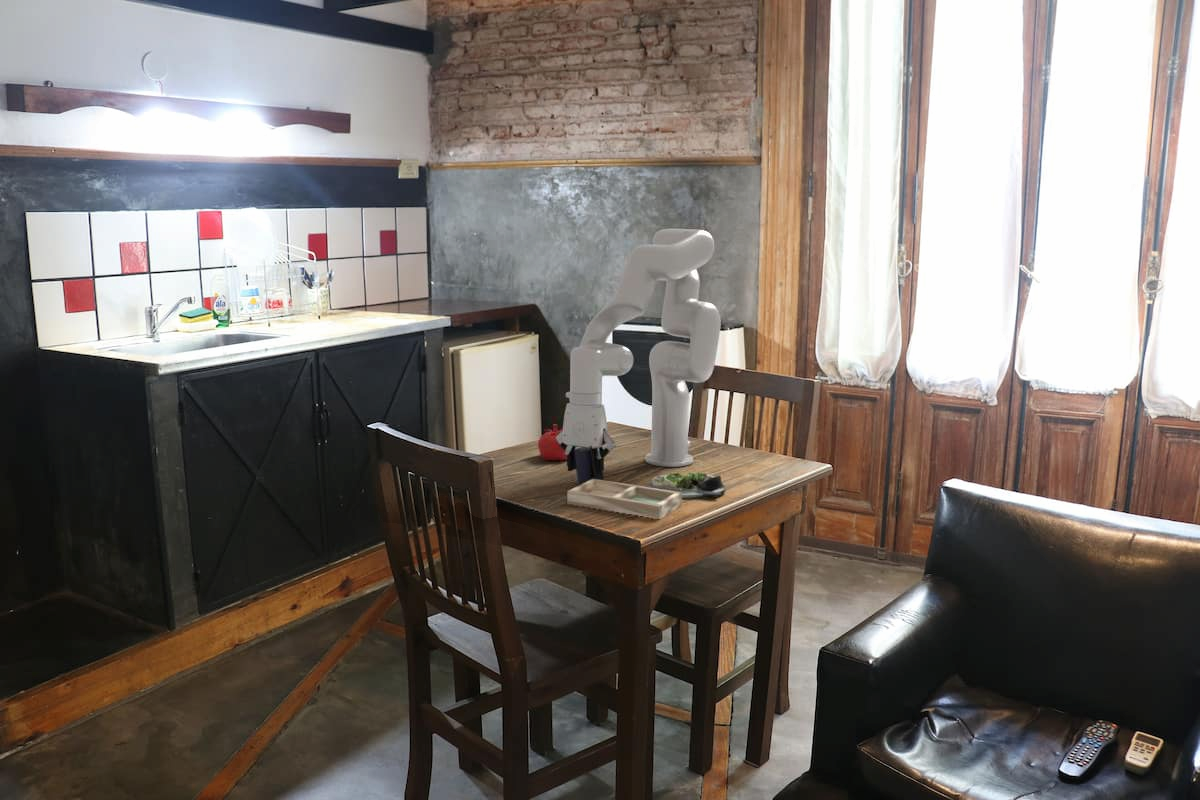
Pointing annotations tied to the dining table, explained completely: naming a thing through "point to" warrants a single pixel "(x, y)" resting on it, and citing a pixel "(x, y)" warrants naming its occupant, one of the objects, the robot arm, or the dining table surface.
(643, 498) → the sorting tray
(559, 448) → the pomegranate
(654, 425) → the robot arm
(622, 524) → the dining table surface
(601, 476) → the speaker
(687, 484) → the avocado toast plate
